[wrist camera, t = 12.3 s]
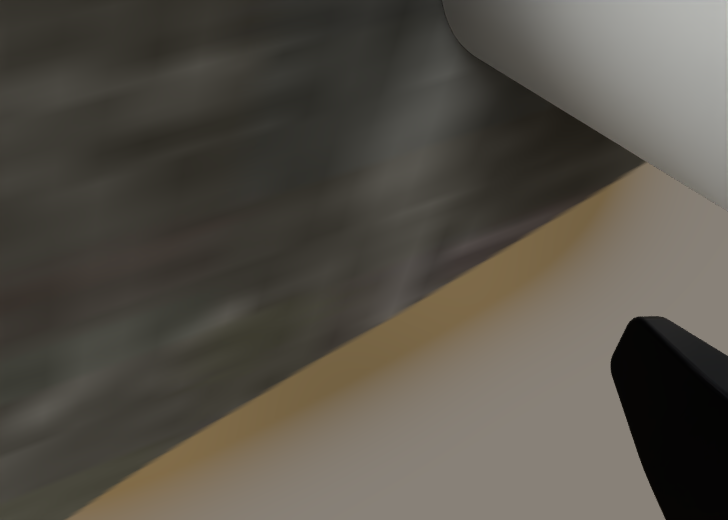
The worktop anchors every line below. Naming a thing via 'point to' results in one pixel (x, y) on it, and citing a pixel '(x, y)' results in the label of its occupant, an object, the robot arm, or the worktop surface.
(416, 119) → the worktop surface
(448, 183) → the worktop surface
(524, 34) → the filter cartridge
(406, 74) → the worktop surface
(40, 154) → the worktop surface
